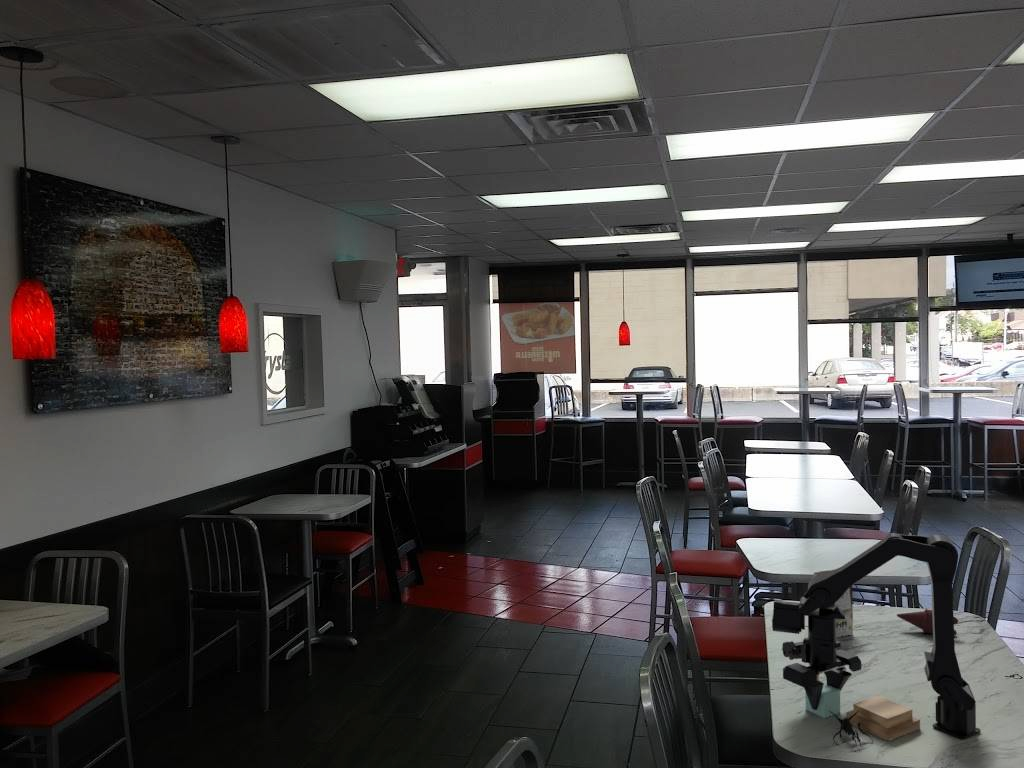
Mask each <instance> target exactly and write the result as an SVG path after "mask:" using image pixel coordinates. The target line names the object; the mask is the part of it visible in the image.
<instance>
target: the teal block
mask: <svg viewBox="0 0 1024 768" xmlns="http://www.w3.org/2000/svg"><path fill="white" fill-rule="evenodd" d="M804 692H805V710H806V711H808V712H810V713H812V714H815V715H817V716H819V717H821V718H823V719H826V717H827V718H829V716H830V717H832V716H834V715H833V714H832V713H834V714H835V715H838V714H840V713H841V691H840V690H839V689H836V688H834V687H832V686H829V685H827V683H824V685H823V689H822V693H821V697H820V701H819V705H818V708H817V710H814V709H812V707H811V704H810V702H809V699H808V696H807V694H806V691H804ZM829 711H831V712H832V713H831V712H829Z"/></svg>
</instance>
